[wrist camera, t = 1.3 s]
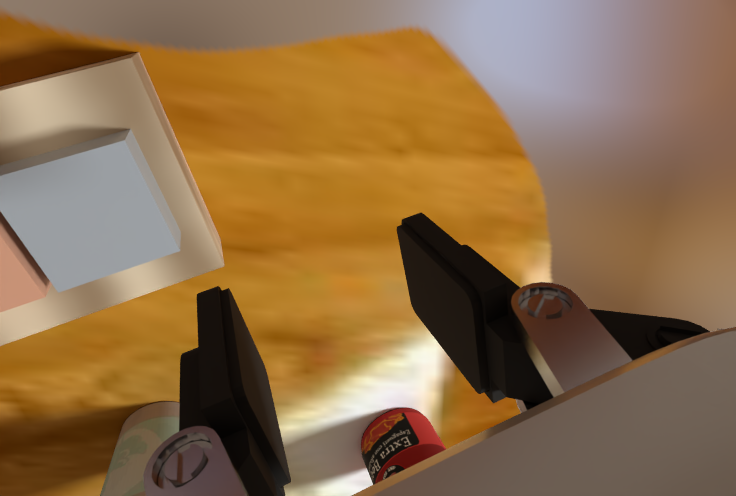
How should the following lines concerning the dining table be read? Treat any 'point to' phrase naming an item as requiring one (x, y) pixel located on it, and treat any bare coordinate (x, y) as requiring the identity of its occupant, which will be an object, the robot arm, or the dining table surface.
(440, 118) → the dining table surface
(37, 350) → the dining table surface
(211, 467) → the robot arm
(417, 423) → the canned food
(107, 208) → the tile slate
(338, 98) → the dining table surface
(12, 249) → the tile terracotta
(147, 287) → the birch plate
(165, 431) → the coffee cup
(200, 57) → the dining table surface
